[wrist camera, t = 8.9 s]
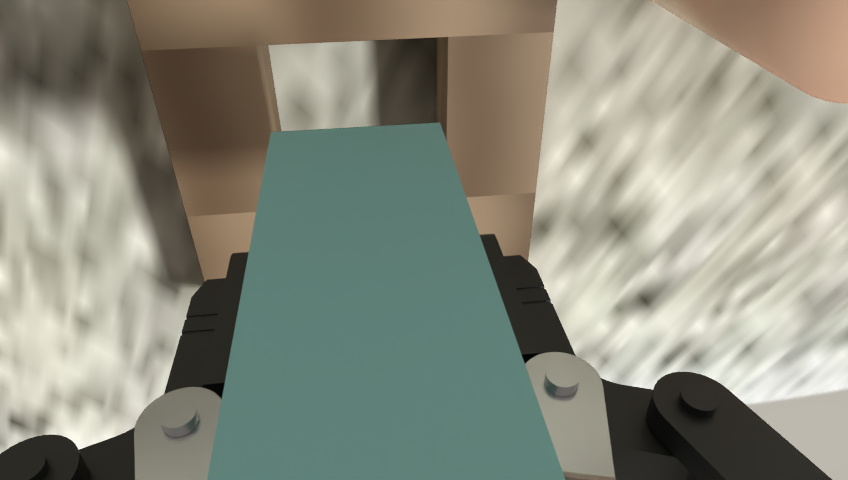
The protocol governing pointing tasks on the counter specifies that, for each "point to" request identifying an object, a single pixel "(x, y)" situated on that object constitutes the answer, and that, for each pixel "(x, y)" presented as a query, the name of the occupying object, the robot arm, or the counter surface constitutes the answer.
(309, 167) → the square peg
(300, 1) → the board
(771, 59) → the round peg
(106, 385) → the counter surface
